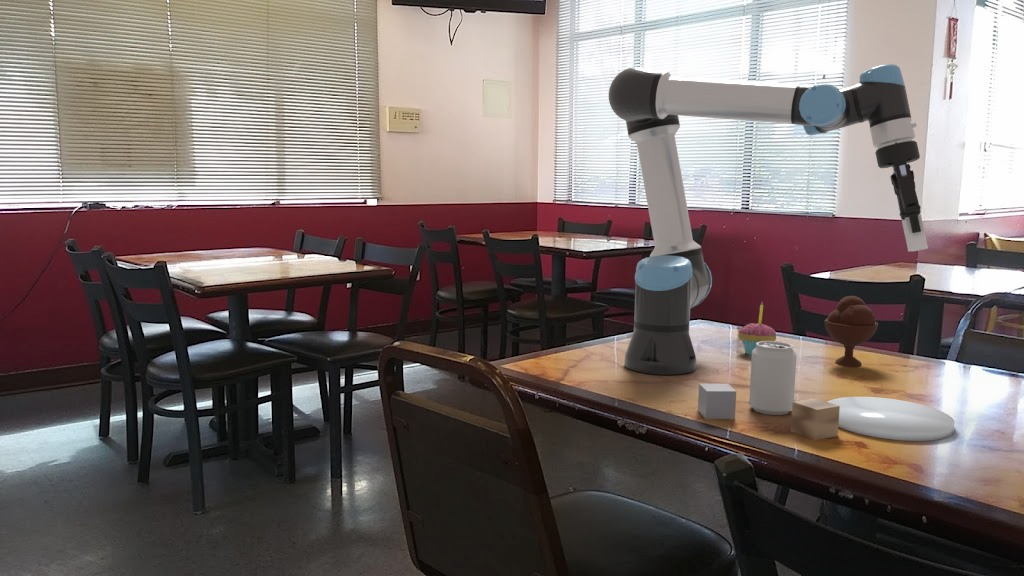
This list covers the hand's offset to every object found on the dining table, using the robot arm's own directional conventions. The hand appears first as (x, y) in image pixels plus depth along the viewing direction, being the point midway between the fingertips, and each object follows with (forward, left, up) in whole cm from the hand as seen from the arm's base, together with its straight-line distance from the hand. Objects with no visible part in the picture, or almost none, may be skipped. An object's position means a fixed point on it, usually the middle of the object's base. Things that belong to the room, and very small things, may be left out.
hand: (917, 250), depth 157 cm
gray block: (+9, -49, -27) cm, 56 cm away
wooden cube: (+22, -39, -27) cm, 52 cm away
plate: (+20, -23, -27) cm, 40 cm away
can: (+9, -38, -27) cm, 47 cm away
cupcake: (-31, -14, -27) cm, 44 cm away
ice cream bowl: (-17, 0, -27) cm, 32 cm away
